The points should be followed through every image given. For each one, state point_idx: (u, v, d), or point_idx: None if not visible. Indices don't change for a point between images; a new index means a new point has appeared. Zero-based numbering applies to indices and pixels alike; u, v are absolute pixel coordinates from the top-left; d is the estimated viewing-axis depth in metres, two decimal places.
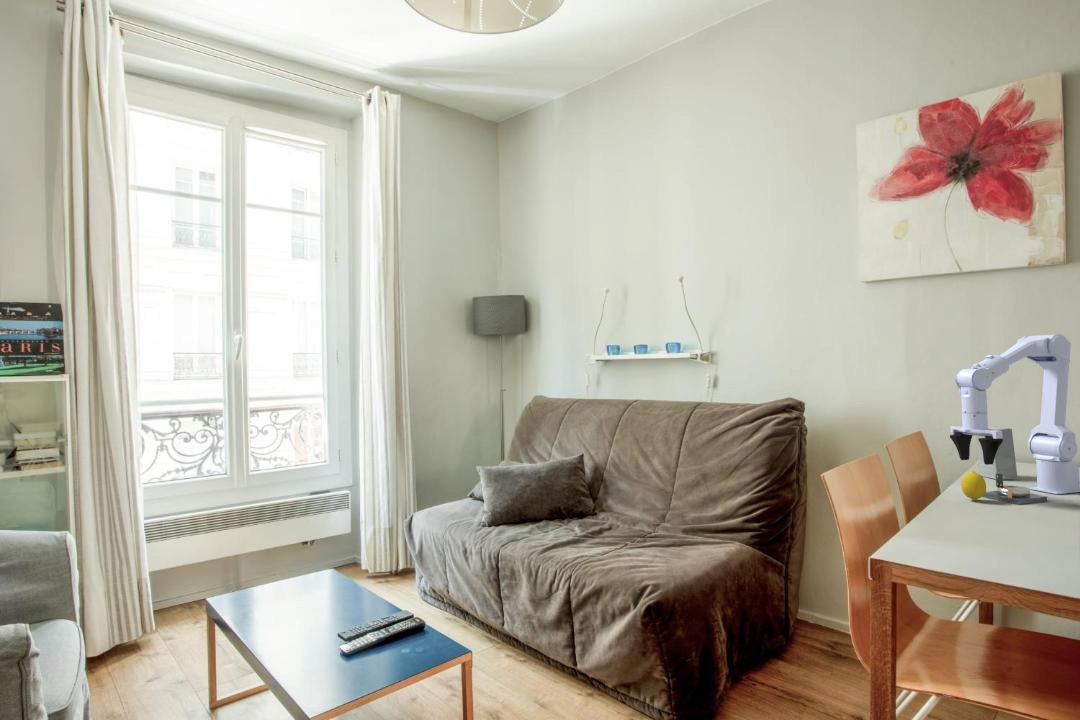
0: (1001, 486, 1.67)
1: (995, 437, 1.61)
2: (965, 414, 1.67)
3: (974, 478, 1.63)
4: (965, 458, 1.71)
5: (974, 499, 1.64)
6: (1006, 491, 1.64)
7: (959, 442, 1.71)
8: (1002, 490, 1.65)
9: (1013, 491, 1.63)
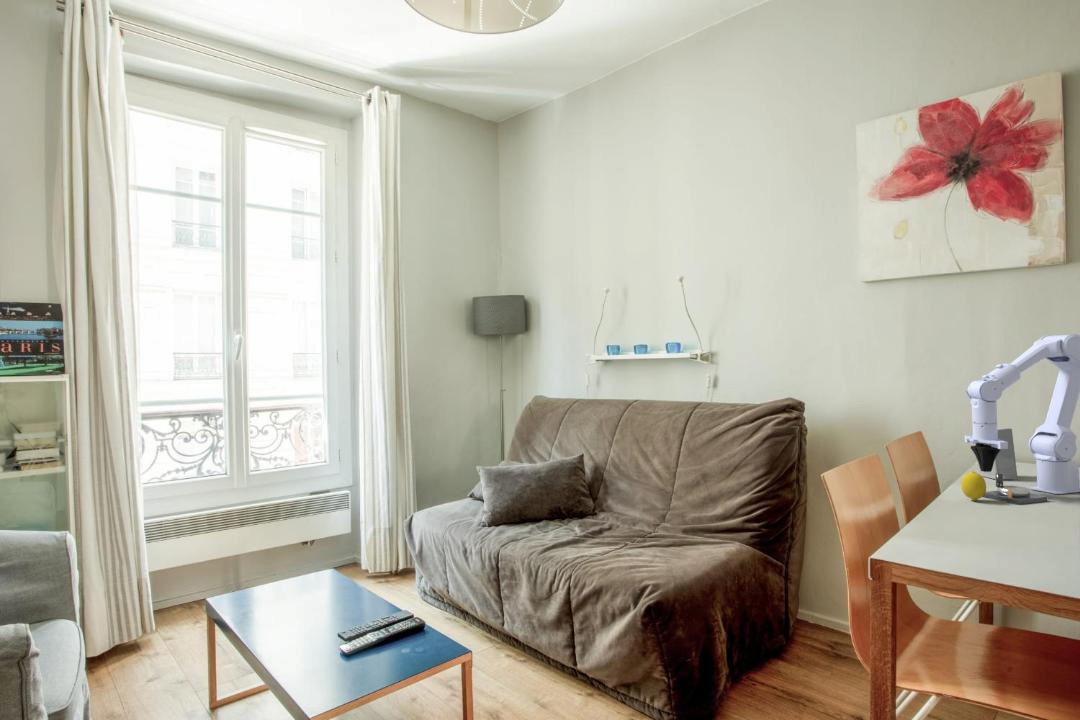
0: (1001, 486, 1.67)
1: (1000, 447, 1.66)
2: (974, 424, 1.73)
3: (974, 478, 1.63)
4: None
5: (974, 499, 1.64)
6: (1006, 491, 1.64)
7: (979, 454, 1.73)
8: (1002, 490, 1.65)
9: (1013, 491, 1.63)
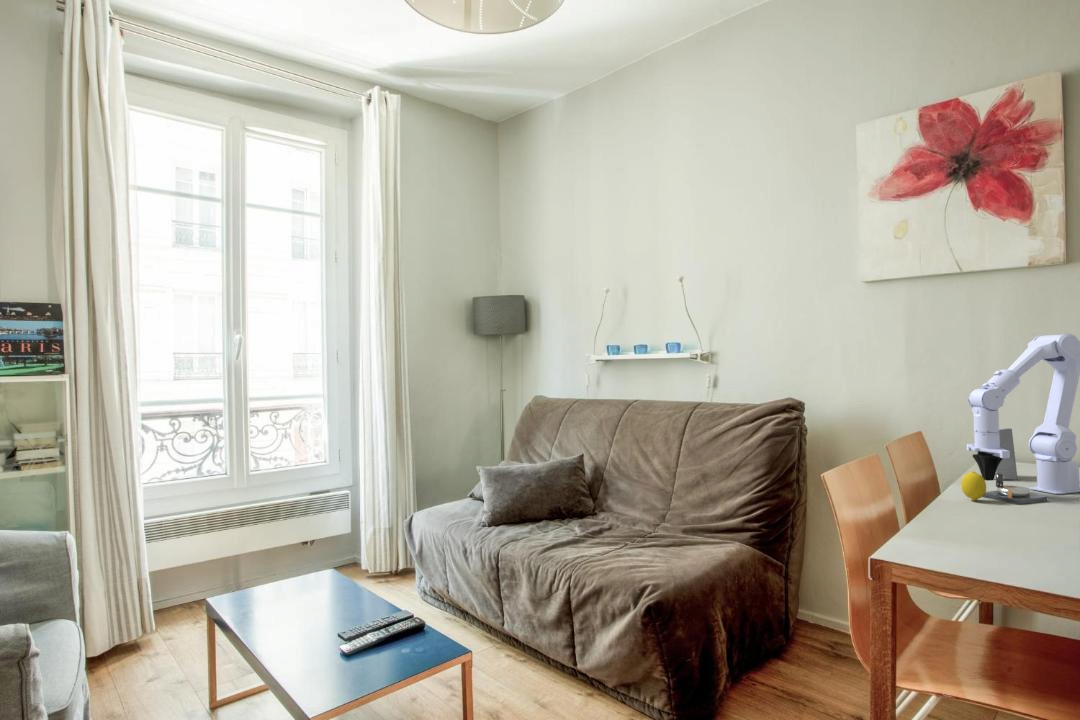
0: (1001, 486, 1.67)
1: (1002, 456, 1.65)
2: (976, 433, 1.72)
3: (974, 478, 1.63)
4: None
5: (974, 499, 1.64)
6: (1006, 491, 1.64)
7: (981, 462, 1.72)
8: (1002, 490, 1.65)
9: (1013, 491, 1.63)
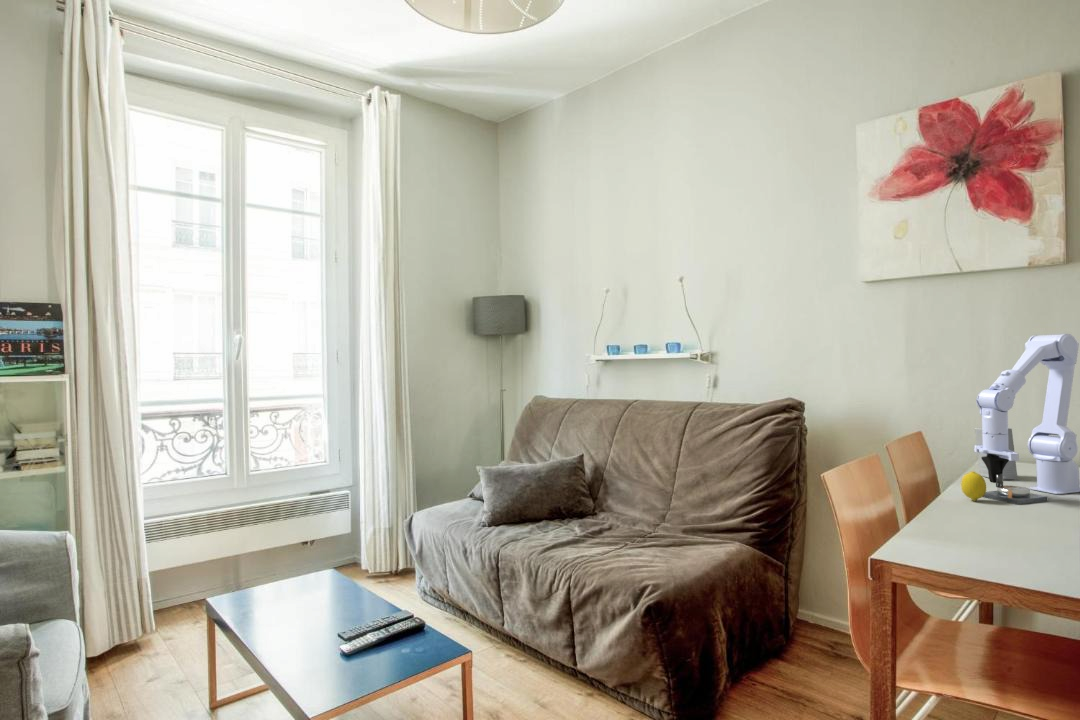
0: (1001, 486, 1.67)
1: (1010, 459, 1.61)
2: (984, 434, 1.68)
3: (974, 478, 1.63)
4: None
5: (974, 499, 1.64)
6: (1007, 491, 1.64)
7: (990, 465, 1.68)
8: (1003, 490, 1.65)
9: (1014, 491, 1.63)
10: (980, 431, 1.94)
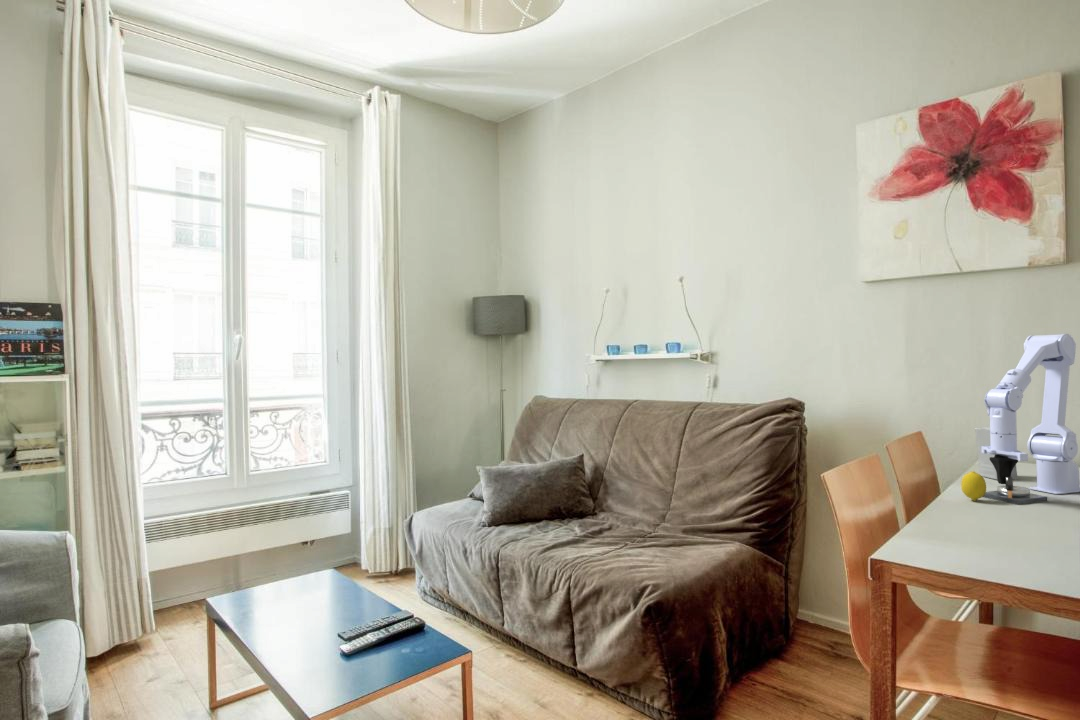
0: None
1: (1019, 459, 1.58)
2: (992, 434, 1.65)
3: (974, 478, 1.63)
4: None
5: (974, 499, 1.64)
6: (1027, 492, 1.62)
7: (998, 466, 1.65)
8: (1024, 492, 1.62)
9: (1029, 490, 1.63)
10: (980, 431, 1.94)
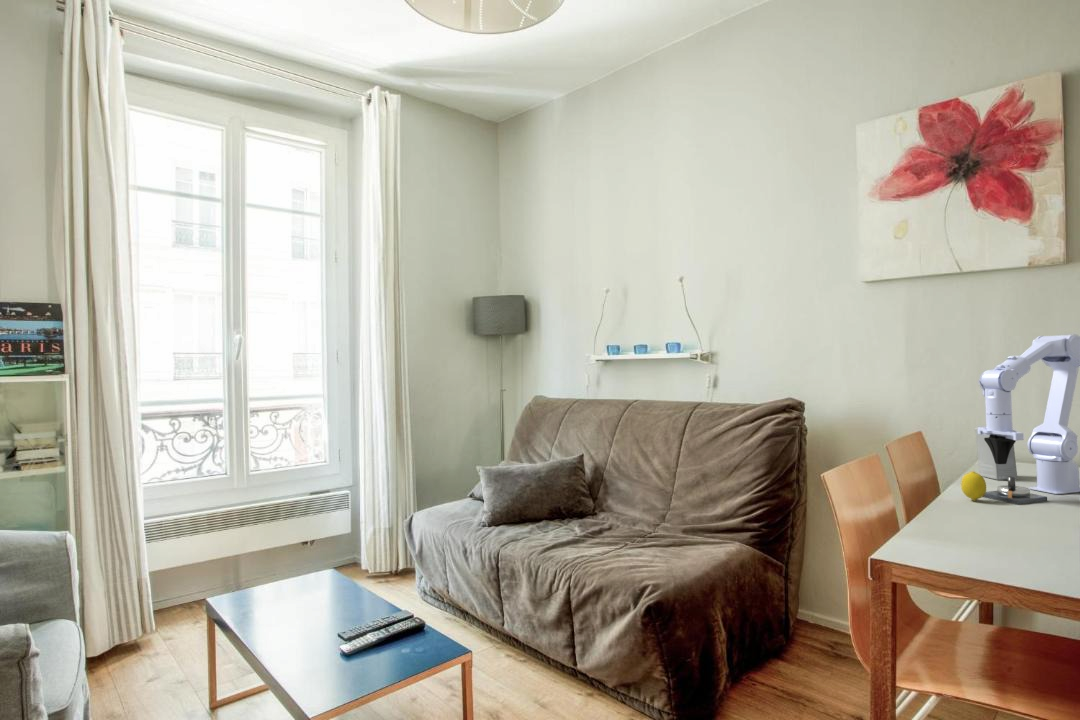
0: None
1: (1015, 439, 1.60)
2: (988, 415, 1.67)
3: (974, 478, 1.63)
4: None
5: (974, 499, 1.64)
6: (1028, 491, 1.62)
7: (993, 446, 1.67)
8: (1026, 492, 1.62)
9: (1029, 490, 1.64)
10: None
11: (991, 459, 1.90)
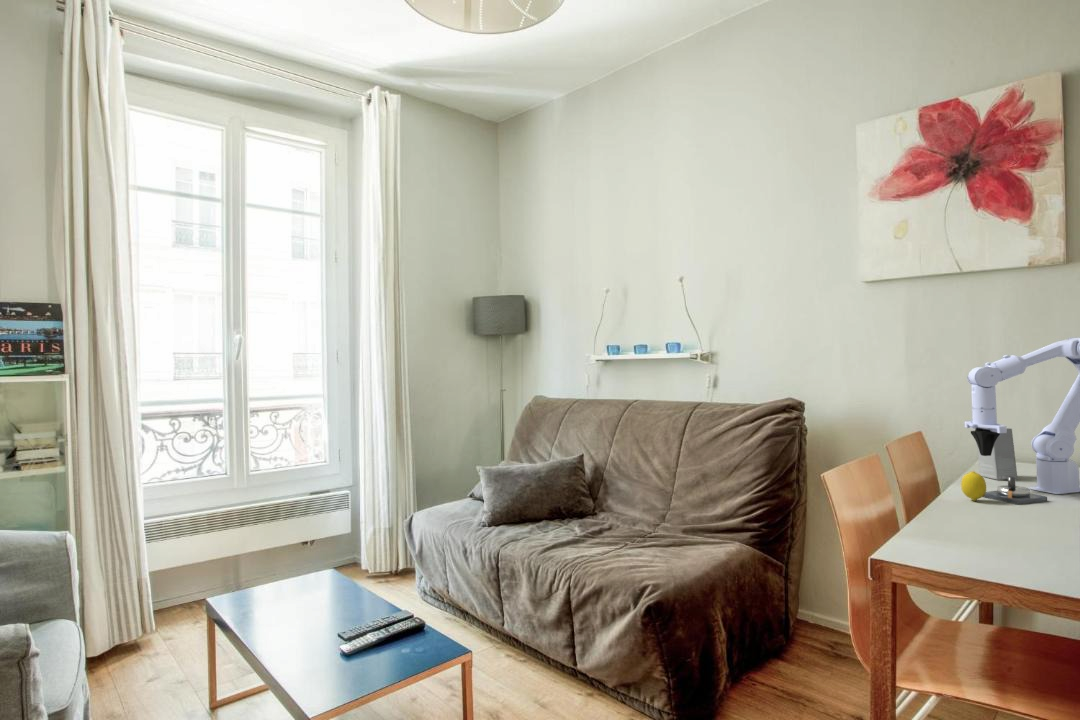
0: None
1: (999, 432, 1.70)
2: (974, 410, 1.77)
3: (974, 478, 1.63)
4: None
5: (974, 499, 1.64)
6: (1028, 491, 1.62)
7: (978, 438, 1.77)
8: (1026, 492, 1.62)
9: (1029, 490, 1.64)
10: None
11: (991, 459, 1.90)
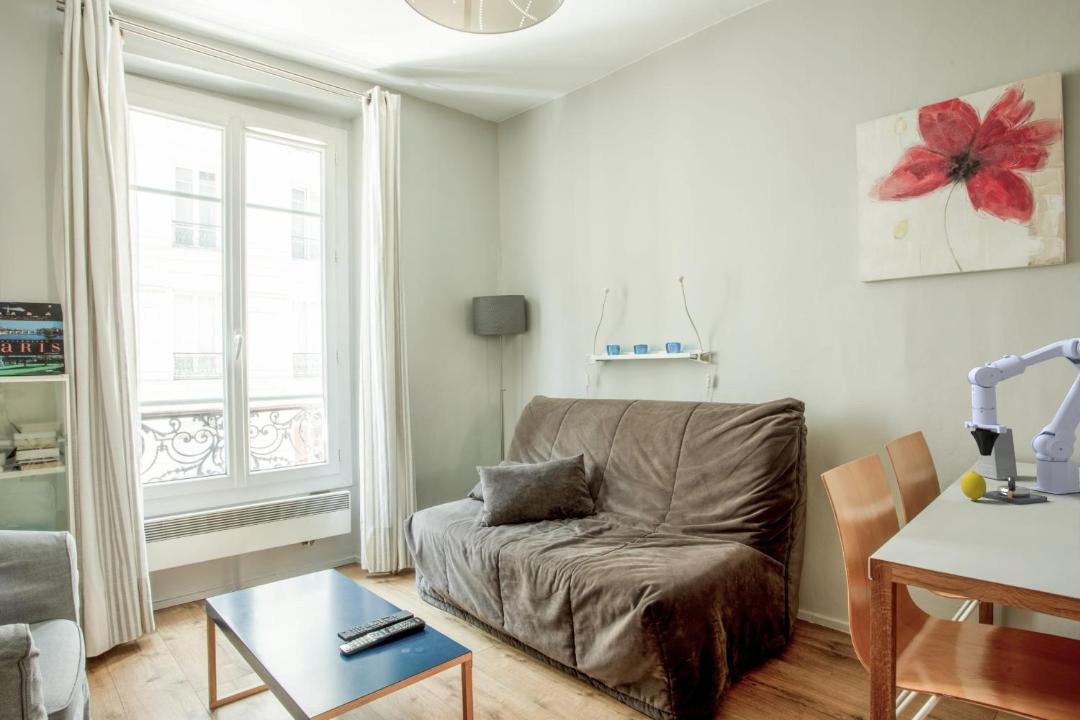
0: None
1: (999, 432, 1.70)
2: (974, 410, 1.77)
3: (974, 478, 1.63)
4: None
5: (974, 499, 1.64)
6: (1028, 491, 1.62)
7: (978, 438, 1.77)
8: (1026, 492, 1.62)
9: (1029, 490, 1.64)
10: None
11: (991, 459, 1.90)
